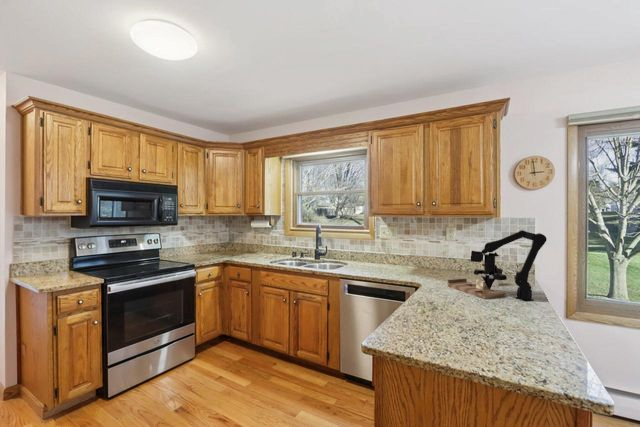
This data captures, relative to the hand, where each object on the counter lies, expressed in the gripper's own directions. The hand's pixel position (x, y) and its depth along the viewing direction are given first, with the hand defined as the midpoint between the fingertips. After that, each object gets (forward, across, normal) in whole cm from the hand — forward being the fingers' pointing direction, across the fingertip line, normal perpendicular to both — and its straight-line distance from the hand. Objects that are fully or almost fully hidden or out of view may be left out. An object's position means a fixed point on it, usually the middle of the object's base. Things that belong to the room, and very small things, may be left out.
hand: (489, 288), depth 181 cm
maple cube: (+1, +5, 0) cm, 5 cm away
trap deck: (+4, +8, +3) cm, 9 cm away
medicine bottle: (+4, +18, -22) cm, 29 cm away
